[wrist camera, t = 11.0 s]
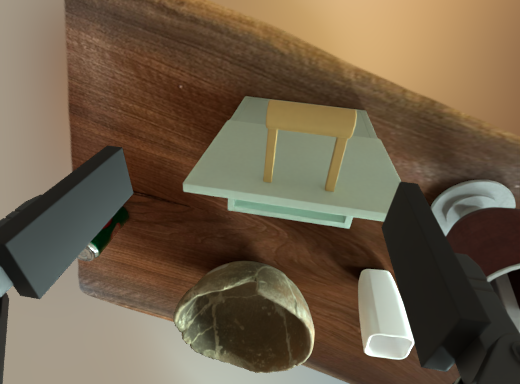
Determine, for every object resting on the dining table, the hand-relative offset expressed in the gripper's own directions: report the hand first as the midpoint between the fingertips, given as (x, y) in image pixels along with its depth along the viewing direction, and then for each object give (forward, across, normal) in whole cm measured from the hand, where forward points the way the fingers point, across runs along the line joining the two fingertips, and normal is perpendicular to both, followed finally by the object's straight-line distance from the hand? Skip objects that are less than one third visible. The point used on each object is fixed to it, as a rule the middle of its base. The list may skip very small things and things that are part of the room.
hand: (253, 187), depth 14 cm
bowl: (+32, -3, -46) cm, 56 cm away
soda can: (+32, -33, -33) cm, 56 cm away
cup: (+32, +22, -40) cm, 56 cm away
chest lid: (+13, +2, -6) cm, 15 cm away
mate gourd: (+32, +32, -22) cm, 50 cm away
